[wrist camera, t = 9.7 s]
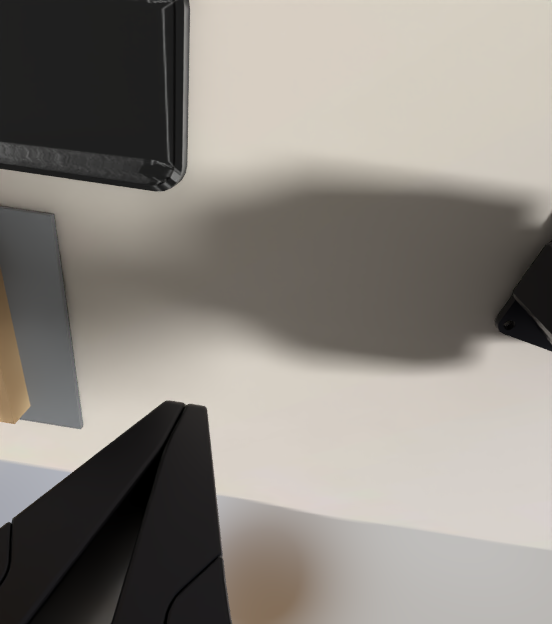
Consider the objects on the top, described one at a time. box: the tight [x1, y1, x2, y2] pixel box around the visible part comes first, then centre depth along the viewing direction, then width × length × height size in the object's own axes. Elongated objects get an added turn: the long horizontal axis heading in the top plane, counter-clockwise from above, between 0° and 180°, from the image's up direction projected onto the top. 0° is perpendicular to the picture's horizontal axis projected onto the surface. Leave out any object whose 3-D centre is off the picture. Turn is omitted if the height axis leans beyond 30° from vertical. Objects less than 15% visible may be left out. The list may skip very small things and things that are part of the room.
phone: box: [0, 0, 190, 191], centre depth 16 cm, size 8×1×15 cm
